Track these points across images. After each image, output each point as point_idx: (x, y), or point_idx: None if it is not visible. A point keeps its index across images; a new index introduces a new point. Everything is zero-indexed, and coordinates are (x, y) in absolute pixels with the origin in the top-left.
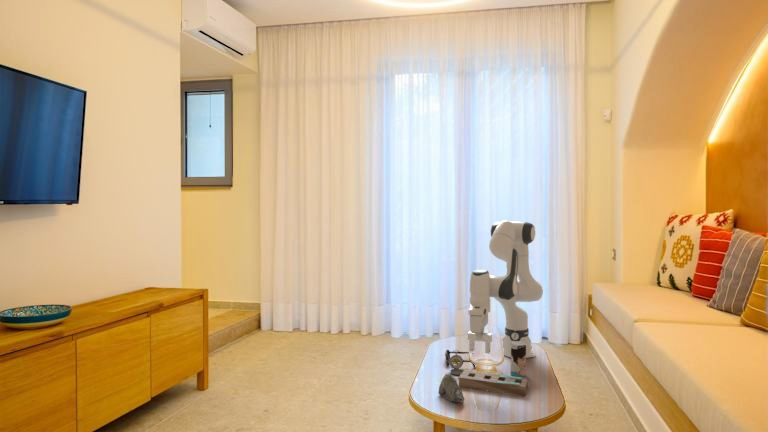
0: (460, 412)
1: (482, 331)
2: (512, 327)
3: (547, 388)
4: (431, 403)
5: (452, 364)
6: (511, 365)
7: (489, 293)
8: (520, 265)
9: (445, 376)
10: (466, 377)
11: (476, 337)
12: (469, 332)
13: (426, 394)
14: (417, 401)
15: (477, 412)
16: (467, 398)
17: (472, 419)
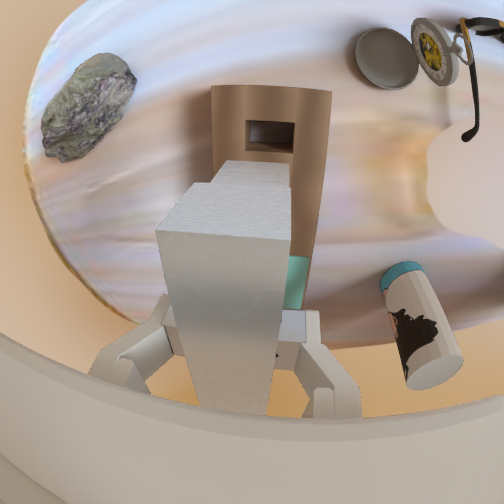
0: (49, 162)
1: (305, 385)
2: None
3: None
4: (57, 70)
5: (417, 34)
6: (409, 288)
7: None
8: None
9: (66, 82)
10: (225, 119)
11: (153, 312)
12: (202, 253)
13: (104, 19)
14: (56, 32)
15: (69, 200)
16: (127, 148)
17: (41, 198)
